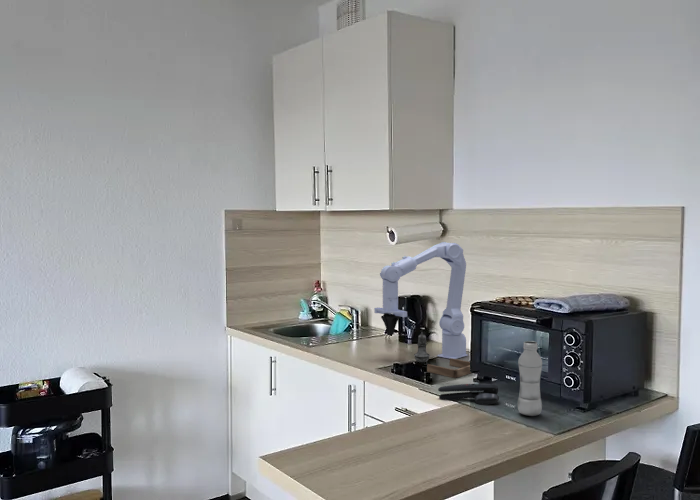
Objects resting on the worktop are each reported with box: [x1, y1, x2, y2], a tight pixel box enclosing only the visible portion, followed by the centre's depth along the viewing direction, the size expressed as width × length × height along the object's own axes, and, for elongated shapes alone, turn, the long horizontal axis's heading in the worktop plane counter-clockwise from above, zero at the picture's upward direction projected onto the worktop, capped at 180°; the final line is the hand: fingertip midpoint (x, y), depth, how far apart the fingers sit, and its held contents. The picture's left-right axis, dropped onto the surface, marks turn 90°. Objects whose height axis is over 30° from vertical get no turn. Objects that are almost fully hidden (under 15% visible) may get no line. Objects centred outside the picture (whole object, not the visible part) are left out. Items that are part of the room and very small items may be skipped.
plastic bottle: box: [517, 340, 543, 417], centre depth 171 cm, size 6×7×20 cm
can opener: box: [437, 382, 500, 405], centre depth 185 cm, size 18×7×6 cm, turn 75°
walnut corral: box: [426, 358, 472, 379], centre depth 220 cm, size 14×12×2 cm
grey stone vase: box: [413, 332, 431, 365], centre depth 229 cm, size 6×6×12 cm
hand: (390, 334), depth 234 cm, fingers closed
